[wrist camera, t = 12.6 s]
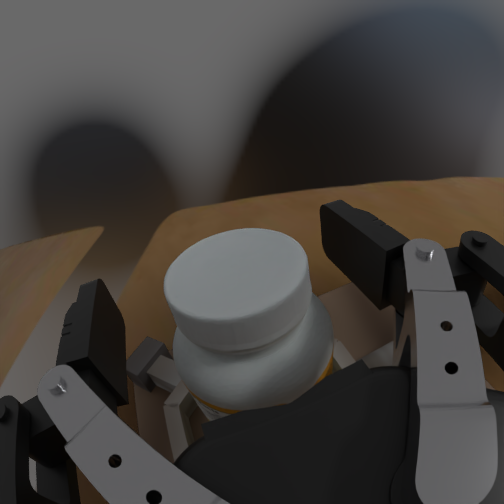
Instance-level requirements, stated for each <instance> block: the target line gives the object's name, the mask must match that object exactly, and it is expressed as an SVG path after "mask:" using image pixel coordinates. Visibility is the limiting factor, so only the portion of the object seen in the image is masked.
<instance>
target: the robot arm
mask: <svg viewBox="0 0 504 504" xmlns="http://www.w3.org/2000/svg"><path fill="white" fill-rule="evenodd" d="M320 221H321V235H322V245H323V249H324V251H325V254H326V255H327V257H328V258H329V259H330V260H331V261H332V262H333V263H334V264H335V265H336V266H337V267H338V268H339V269H340V270H341V271H342V272H343V273H344V274H345V275H346V276H347V277H348V278H349V279H350V280H351V281H352V282H353V283H354V284H355V285H356V286H357V287H358V289H359V290H360V291H361V292H362V293H363V294H364V295H365V296H366V297H367V298H368V299H369V300H370V301H371V302H372V303H373V304H374V305H375V306H376V307H377V308H378V309H379V310H382V309H384V308H386V307H388V306H390V305H392V306H393V307H394V308H395V309H394V315H393V361H392V366H380V367H374V368H368V366H367V365H366V364H365V362H364V361H363V360H362V359H361V360H359V361H357V362H355V363H353V364H351V365H349V366H347V367H345V368H343V369H341V370H339V371H337V372H335V373H333V374H330V375H328V376H326V377H325V378H324V379H322V380H321V381H320V382H318V383H317V384H316V385H314V386H313V387H312V388H310V389H309V390H308V391H306V392H305V393H304V394H302V395H301V396H300V397H298V398H297V399H296V400H294V401H293V402H291V403H288V404H284V405H278V406H272V407H265V408H258V409H251V410H243V411H240V412H237V413H234V414H231V415H228V416H225V417H222V418H219V419H215V420H212V421H209V422H206V423H202V424H201V426H202V430H203V433H204V436H202V437H201V438H199V439H198V440H196V441H195V442H193V443H192V444H191V445H190V446H188V447H187V448H186V449H185V450H184V451H183V452H182V453H181V454H180V456H179V457H178V458H177V459H176V461H175V462H174V463H172V462H171V461H170V460H168V459H167V458H166V457H164V456H163V455H162V454H161V453H159V452H158V451H157V450H156V449H155V448H153V447H152V446H151V445H150V444H149V443H147V442H146V441H145V440H144V439H143V438H142V437H140V436H139V435H138V434H137V433H136V432H135V431H134V430H133V429H131V428H130V427H129V426H128V425H127V424H126V423H125V422H124V421H123V420H122V419H121V418H120V417H118V416H117V406H122V405H126V404H129V402H128V389H127V372H126V344H125V324H124V320H123V317H122V314H121V312H120V310H119V309H118V307H117V305H116V303H115V302H114V300H113V298H112V296H111V295H110V293H109V291H108V289H107V287H106V285H105V284H104V282H103V281H102V280H101V279H97V280H94V281H91V282H88V283H86V284H83V285H81V286H80V289H79V293H78V298H77V302H75V303H73V304H72V305H71V307H70V308H69V310H68V312H67V313H66V316H65V320H64V324H63V326H64V328H63V329H62V337H61V339H60V344H59V349H58V355H57V361H56V366H55V367H53V368H52V369H50V370H49V371H48V372H47V373H46V374H45V375H44V376H43V377H42V379H41V381H40V383H39V386H38V395H37V396H35V397H33V398H32V399H30V400H28V401H27V402H25V403H23V404H21V403H20V402H19V401H18V400H17V399H15V398H14V397H13V396H4V397H2V398H1V399H0V504H81V502H80V496H79V489H78V481H77V472H76V465H77V466H78V467H79V469H80V470H81V471H82V473H83V474H84V475H85V476H86V477H87V479H88V480H89V481H90V482H91V483H92V485H93V486H94V487H95V488H96V489H97V490H98V491H99V493H100V494H101V495H102V496H103V497H104V498H105V499H106V500H107V501H108V502H109V504H504V392H501V391H497V390H492V389H488V388H486V386H485V378H484V371H483V364H482V358H481V352H480V347H479V344H480V345H481V346H482V347H483V348H484V349H485V350H486V351H487V353H488V354H489V355H490V356H491V357H492V358H493V359H494V360H495V362H496V363H497V364H498V365H499V366H500V367H501V369H502V370H503V371H504V314H503V313H502V312H501V311H500V310H499V309H498V308H497V307H496V306H495V305H494V304H493V303H492V302H491V301H490V300H489V299H488V298H487V297H485V296H484V295H483V293H484V290H485V287H486V284H487V281H488V282H489V283H490V284H491V285H492V286H494V287H495V288H496V289H497V290H498V291H499V292H500V293H501V294H503V296H504V246H503V245H501V244H500V243H499V242H497V241H496V240H495V239H493V238H492V237H490V236H489V235H487V234H485V233H482V232H479V231H467V232H465V233H463V234H462V236H461V240H460V245H459V247H454V248H448V249H444V248H443V247H442V246H441V245H440V244H438V243H436V242H434V241H432V240H428V239H414V240H409V239H408V238H406V237H405V236H403V235H402V234H401V233H399V232H398V231H396V230H395V229H393V228H392V227H390V226H389V225H386V223H384V222H383V221H381V220H378V218H377V217H375V216H374V215H372V214H371V213H369V212H367V211H363V210H360V209H357V208H353V207H352V206H350V205H349V204H347V203H346V202H344V201H342V200H337V201H334V202H330V203H327V204H324V205H322V206H321V207H320ZM29 457H30V458H31V459H33V460H34V461H36V475H37V476H36V477H37V492H36V491H35V490H34V489H33V488H32V486H31V483H30V480H29Z"/></svg>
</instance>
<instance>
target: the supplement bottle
mask: <svg viewBox="0 0 504 504" xmlns="http://www.w3.org/2000/svg"><path fill="white" fill-rule="evenodd" d="M164 294H165V297H166V300H167V303H168V305H169V307H170V309H171V312H172V314H173V316H174V319H175V322H176V324H177V328H176V331H175V335H174V340H173V357H174V362H175V366H176V369H177V371H178V373H179V375H180V377H181V379H182V381H183V383H184V384H185V386H186V387H187V389H188V390H189V392H190V394H191V395H192V397H193V398H194V400H195V401H196V403H197V404H198V406H199V407H200V409H201V410H202V412H203V413H204V414H205V416H206V417H207V419H208V420H209V421H212V420H215V419H219V418H222V417H225V416H228V415H231V414H234V413H237V412H240V411H243V410H251V409H258V408H265V407H272V406H278V405H284V404H288V403H291V402H293V401H294V400H296V399H297V398H298V397H300V396H301V395H302V394H304V393H305V392H306V391H308V390H309V389H310V388H312V387H313V386H314V385H316V384H317V383H318V382H320V381H321V380H322V379H324V378H325V377H326V376H328V375H330V374H332V369H333V349H334V334H333V326H332V322H331V318H330V316H329V314H328V311H327V309H326V308H325V306H324V305H323V303H322V302H321V301H320V299H319V298H318V297H317V296H316V295H315V294H314V293H312V287H311V282H310V275H309V266H308V259H307V255H306V253H305V251H304V250H303V248H302V246H301V245H300V244H299V243H298V242H297V241H296V240H294V239H293V238H291V237H289V236H287V235H285V234H283V233H280V232H277V231H273V230H267V229H261V228H246V229H236V230H231V231H227V232H223V233H219V234H216V235H213V236H210V237H208V238H206V239H203V240H201V241H199V242H197V243H196V244H194V245H193V246H191V247H189V248H188V249H186V250H185V251H184V252H183V253H182V254H180V255H179V257H178V258H177V259H176V260H175V261H174V262H173V263H172V264H171V266H170V267H169V269H168V271H167V273H166V276H165V279H164Z"/></svg>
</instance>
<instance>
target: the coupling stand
mask: <svg viewBox="0 0 504 504" xmlns="http://www.w3.org/2000/svg"><path fill="white" fill-rule="evenodd" d="M318 298H319V299H320V301H321V302H322V303H323V305H324V306H325V308H326V309H327V311H328V314H329V316H330V318H331V322H332V326H333V334H334V349H333V369H332V374H333V373H335V372H337V371H339V370H341V369H343V368H345V367H347V366H349V365H351V364H353V363H355V362H357V361H359V360H361V359H362V360H363V361H364V362H365V364H366V365H367V366H368V368H374V367H380V366H392V361H393V315H394V309H395V308H394V307H393V306H392V305H390V306H388V307H386V308H384V309H382V310H379V309H378V308H377V307H376V306H375V305H374V304H373V303H372V302H371V301H370V300H369V299H368V298H367V297H366V296H365V295H364V294H363V293H362V292H361V291H360V290H359V289H358V287H357V286H356V285H355V284H354V283H353V282H351V283H349V284H346V285H344V286H342V287H339V288H337V289H334V290H332V291H330V292H327V293H325V294H322V295H320V296H318ZM126 372H127V375H128V376H129V377H130V379H131V380H132V381H133V382H134V394H135V404H136V414H137V422H138V430H139V436H140V437H142V438H143V439H144V440H145V441H146V442H147V443H149V444H150V445H151V446H152V447H153V448H155V449H156V450H157V451H158V452H159V453H161V454H162V455H163V456H164V457H166V458H167V459H168V460H170V461H171V462H172V463H174V462H175V461H176V459H177V458H178V457H179V456H180V454H181V453H182V452H183V451H184V450H185V449H186V448H187V447H188V446H190V445H191V444H192V443H193V442H195V441H196V440H198V439H199V438H201V437H202V436H204V433H203V430H202V426H201V424H202V423H206V422H209V420H208V419H207V417H206V416H205V414H204V413H203V412H202V410H201V409H200V407H199V406H198V404H197V403H196V401H195V400H194V398H193V397H192V395H191V394H190V392H189V390H188V389H187V387H186V386H185V384H184V383H183V381H182V379H181V377H180V375H179V373H178V371H177V369H176V366H175V362H174V357H173V349H172V350H169V351H168V350H167V348H166V346H165V344H164V343H162V342H160V341H157V340H155V339H152V338H150V337H148V336H147V337H146V338H145V340H144V341H143V342H142V343H141V344H140V345H139V347H138V348H137V349H136V350H135V351H134V352H133V354H132V355H131V356H130V357H129V358H128V359H127V361H126ZM485 386H486V388H488V389H492V390H495V389H494V388H493V387H492V386H491V385H490V384H489V383H488V382H487V380H486V379H485Z"/></svg>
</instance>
